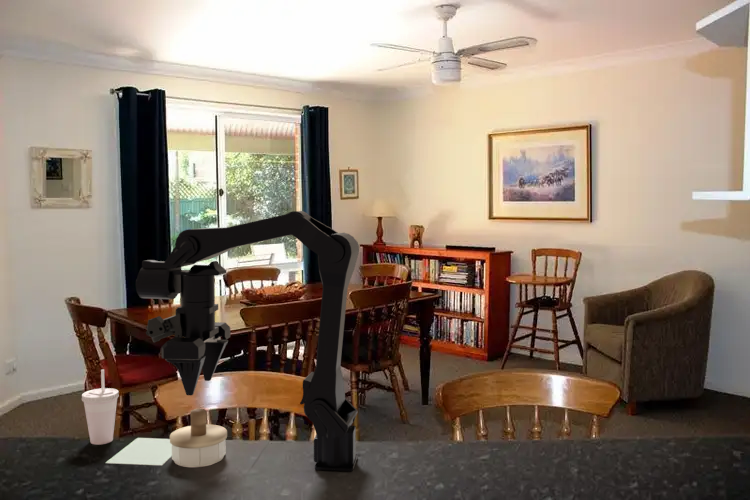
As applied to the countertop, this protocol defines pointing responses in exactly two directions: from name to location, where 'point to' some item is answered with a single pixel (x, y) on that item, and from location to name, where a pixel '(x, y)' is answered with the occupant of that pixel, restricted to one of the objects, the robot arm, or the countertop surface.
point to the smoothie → (100, 412)
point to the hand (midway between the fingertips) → (199, 387)
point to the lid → (198, 432)
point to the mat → (144, 452)
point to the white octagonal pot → (198, 455)
